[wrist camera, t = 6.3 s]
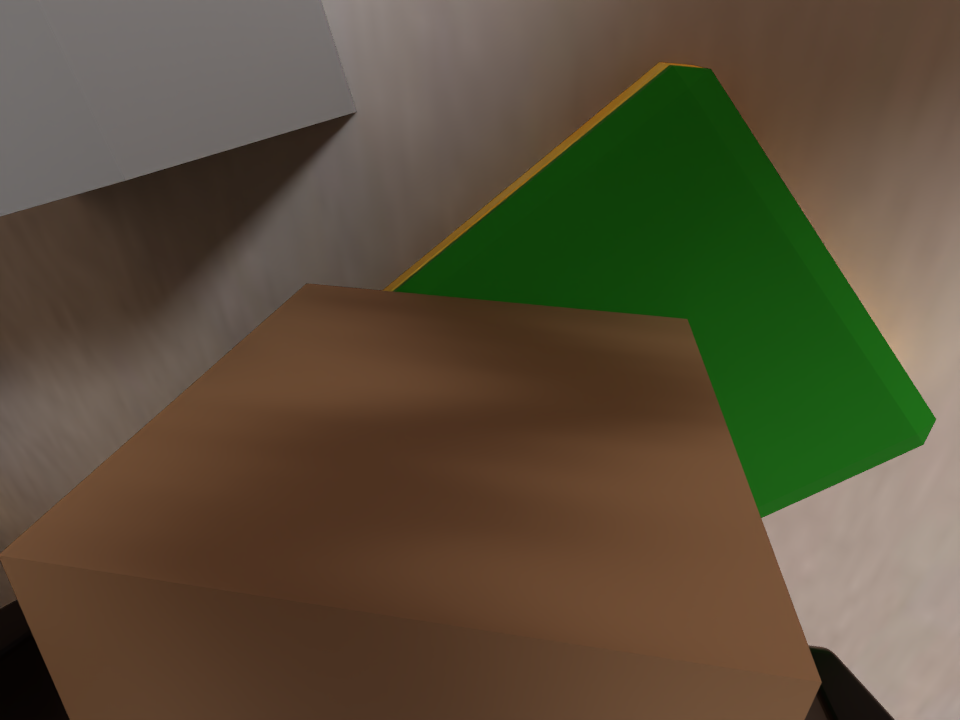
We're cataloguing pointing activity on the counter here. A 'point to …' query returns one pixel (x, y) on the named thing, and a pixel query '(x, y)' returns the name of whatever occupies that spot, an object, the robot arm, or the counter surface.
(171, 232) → the counter surface
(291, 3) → the slate block
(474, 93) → the counter surface
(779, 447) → the dish sponge
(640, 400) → the walnut block
